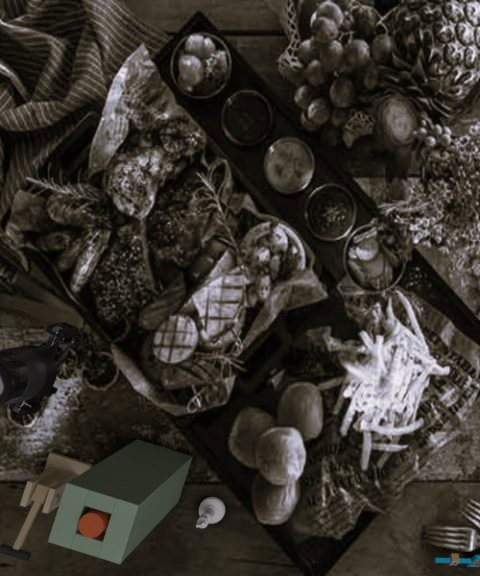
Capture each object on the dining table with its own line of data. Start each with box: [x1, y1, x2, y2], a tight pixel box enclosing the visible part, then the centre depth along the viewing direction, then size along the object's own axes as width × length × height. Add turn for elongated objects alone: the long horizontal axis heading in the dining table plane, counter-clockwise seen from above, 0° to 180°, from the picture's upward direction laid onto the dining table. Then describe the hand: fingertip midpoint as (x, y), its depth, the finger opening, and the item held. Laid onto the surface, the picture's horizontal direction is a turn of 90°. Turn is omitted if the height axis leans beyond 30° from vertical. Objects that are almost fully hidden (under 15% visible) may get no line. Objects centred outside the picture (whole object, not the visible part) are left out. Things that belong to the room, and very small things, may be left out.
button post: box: [47, 438, 194, 565], centre depth 127 cm, size 11×9×33 cm
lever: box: [0, 484, 50, 562], centre depth 132 cm, size 12×5×2 cm, turn 162°
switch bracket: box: [19, 451, 93, 515], centre depth 138 cm, size 9×8×12 cm
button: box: [79, 508, 110, 538], centre depth 111 cm, size 4×4×3 cm
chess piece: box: [195, 496, 226, 529], centre depth 139 cm, size 5×5×10 cm
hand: (63, 363), depth 121 cm, fingers open, 8 cm apart
